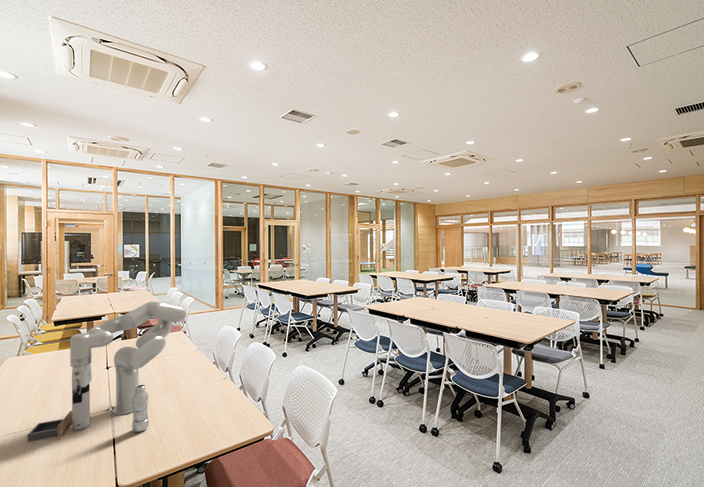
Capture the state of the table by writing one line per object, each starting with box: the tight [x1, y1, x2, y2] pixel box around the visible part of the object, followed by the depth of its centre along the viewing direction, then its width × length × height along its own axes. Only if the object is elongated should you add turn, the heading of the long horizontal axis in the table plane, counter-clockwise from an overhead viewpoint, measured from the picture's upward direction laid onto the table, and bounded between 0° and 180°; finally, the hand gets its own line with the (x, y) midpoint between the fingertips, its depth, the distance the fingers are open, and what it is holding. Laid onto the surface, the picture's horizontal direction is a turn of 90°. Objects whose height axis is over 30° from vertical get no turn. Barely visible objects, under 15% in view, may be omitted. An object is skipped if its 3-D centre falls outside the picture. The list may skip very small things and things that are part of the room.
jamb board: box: [57, 410, 72, 441], centre depth 149 cm, size 1×14×6 cm, turn 23°
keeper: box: [27, 418, 64, 443], centre depth 147 cm, size 11×10×3 cm
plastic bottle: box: [131, 384, 150, 433], centre depth 149 cm, size 6×7×20 cm
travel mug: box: [71, 383, 91, 432], centre depth 151 cm, size 6×7×20 cm
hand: (81, 398), depth 151 cm, fingers open, 9 cm apart
